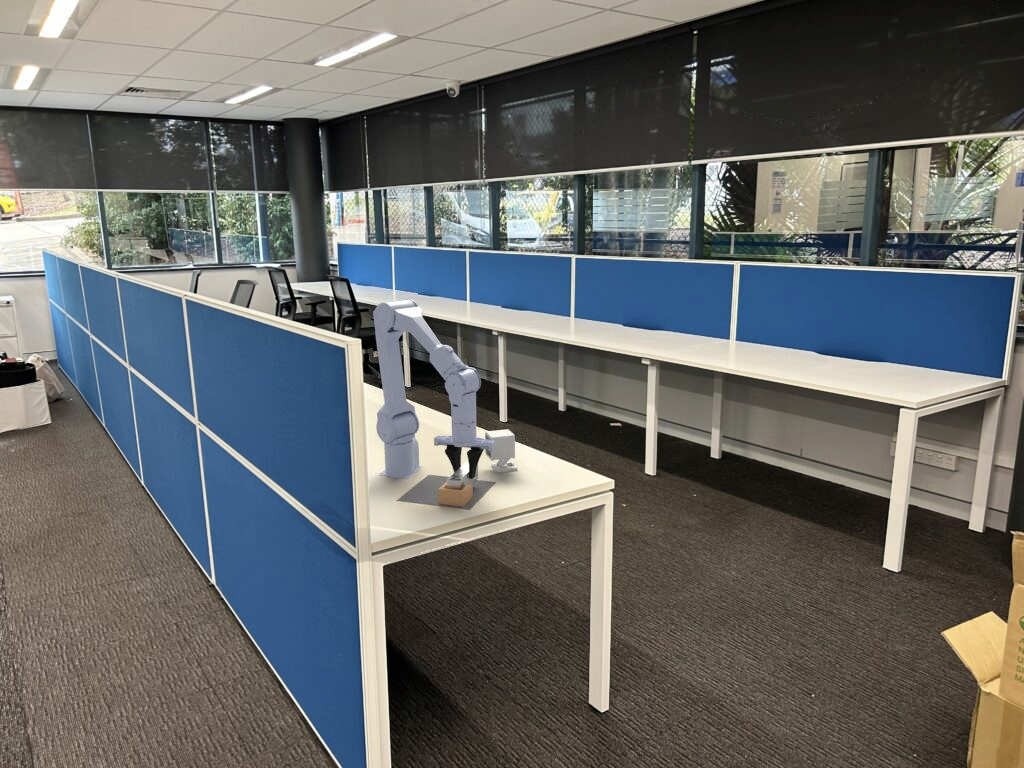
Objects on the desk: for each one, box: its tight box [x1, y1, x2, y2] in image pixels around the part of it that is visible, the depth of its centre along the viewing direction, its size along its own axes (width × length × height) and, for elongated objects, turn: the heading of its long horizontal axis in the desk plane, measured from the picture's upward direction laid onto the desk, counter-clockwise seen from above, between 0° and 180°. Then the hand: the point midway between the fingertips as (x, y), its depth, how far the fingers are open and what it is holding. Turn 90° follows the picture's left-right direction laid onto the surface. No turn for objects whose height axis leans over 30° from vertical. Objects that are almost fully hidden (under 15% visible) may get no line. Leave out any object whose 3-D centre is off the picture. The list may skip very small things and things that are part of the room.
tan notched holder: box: [438, 482, 473, 507], centre depth 169 cm, size 6×6×4 cm
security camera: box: [484, 428, 518, 473], centre depth 189 cm, size 6×7×10 cm
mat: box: [396, 474, 497, 511], centre depth 175 cm, size 18×18×1 cm
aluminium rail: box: [447, 461, 479, 490], centre depth 173 cm, size 12×3×4 cm, turn 162°
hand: (465, 476), depth 174 cm, fingers closed on aluminium rail, 3 cm apart
